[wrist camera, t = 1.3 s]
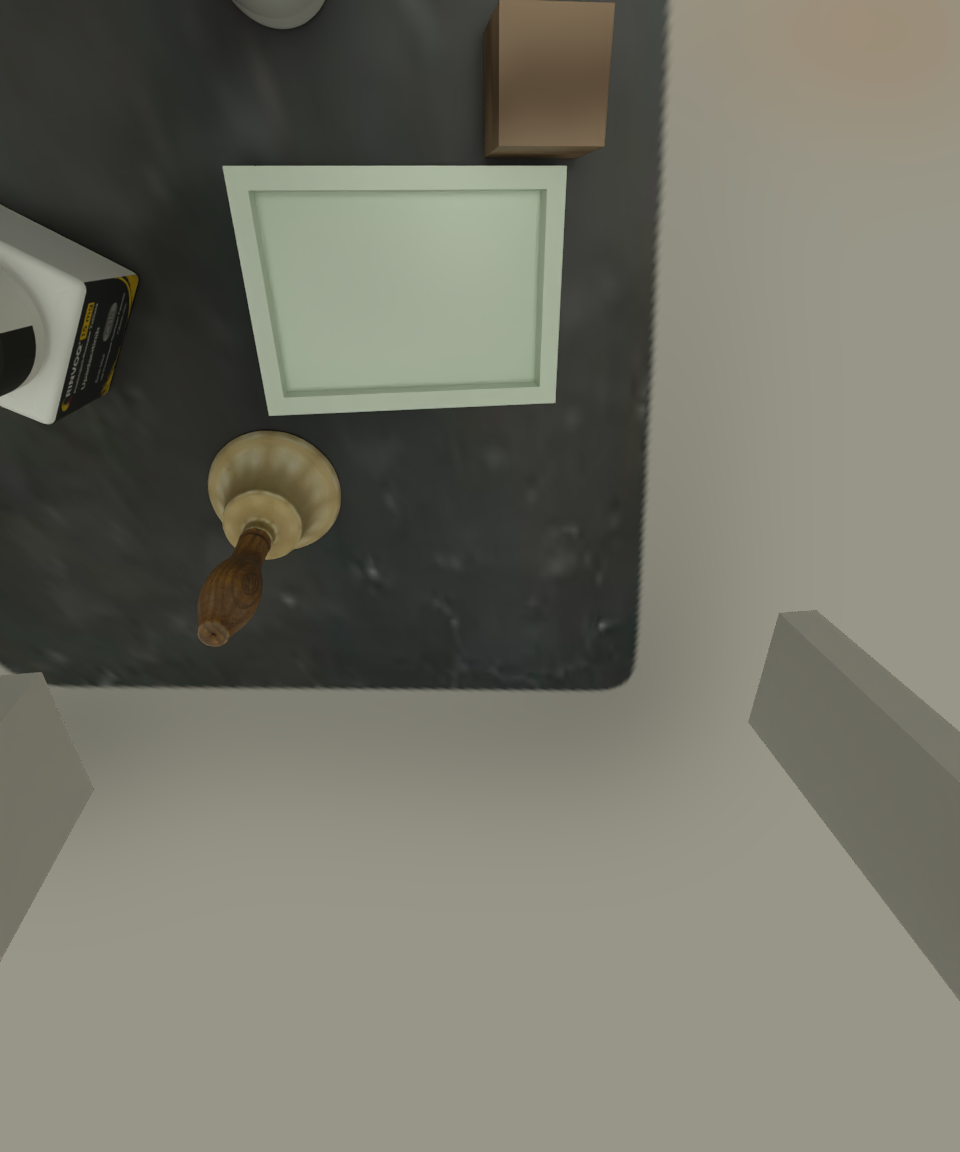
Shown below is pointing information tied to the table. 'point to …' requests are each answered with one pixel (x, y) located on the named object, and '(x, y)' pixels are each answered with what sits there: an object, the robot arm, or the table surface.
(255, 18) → the drinking glass
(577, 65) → the walnut block
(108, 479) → the table surface
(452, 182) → the tray
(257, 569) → the hand bell
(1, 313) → the medicine bottle
